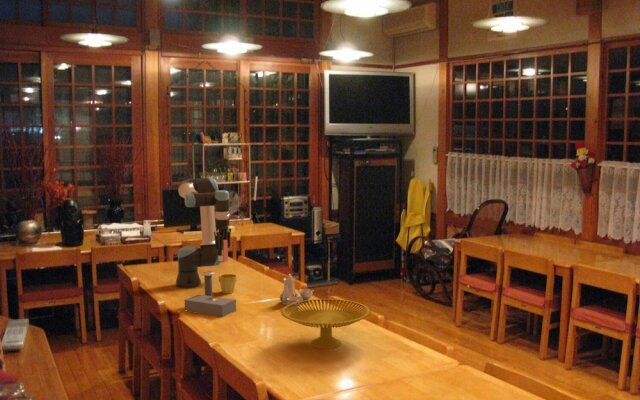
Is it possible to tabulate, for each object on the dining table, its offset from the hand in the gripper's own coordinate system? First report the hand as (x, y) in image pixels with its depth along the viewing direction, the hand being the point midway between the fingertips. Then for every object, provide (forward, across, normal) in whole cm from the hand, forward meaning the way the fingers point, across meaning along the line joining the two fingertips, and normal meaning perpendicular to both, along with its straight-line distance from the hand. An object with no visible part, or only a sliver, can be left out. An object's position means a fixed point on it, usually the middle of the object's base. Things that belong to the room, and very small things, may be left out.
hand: (223, 260), depth 363 cm
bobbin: (+22, -11, +2) cm, 24 cm away
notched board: (+21, -23, -8) cm, 32 cm away
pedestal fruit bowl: (+20, -42, -84) cm, 97 cm away
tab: (+1, 0, 0) cm, 1 cm away
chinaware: (+22, +9, -40) cm, 47 cm away
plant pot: (+22, +13, +6) cm, 27 cm away
